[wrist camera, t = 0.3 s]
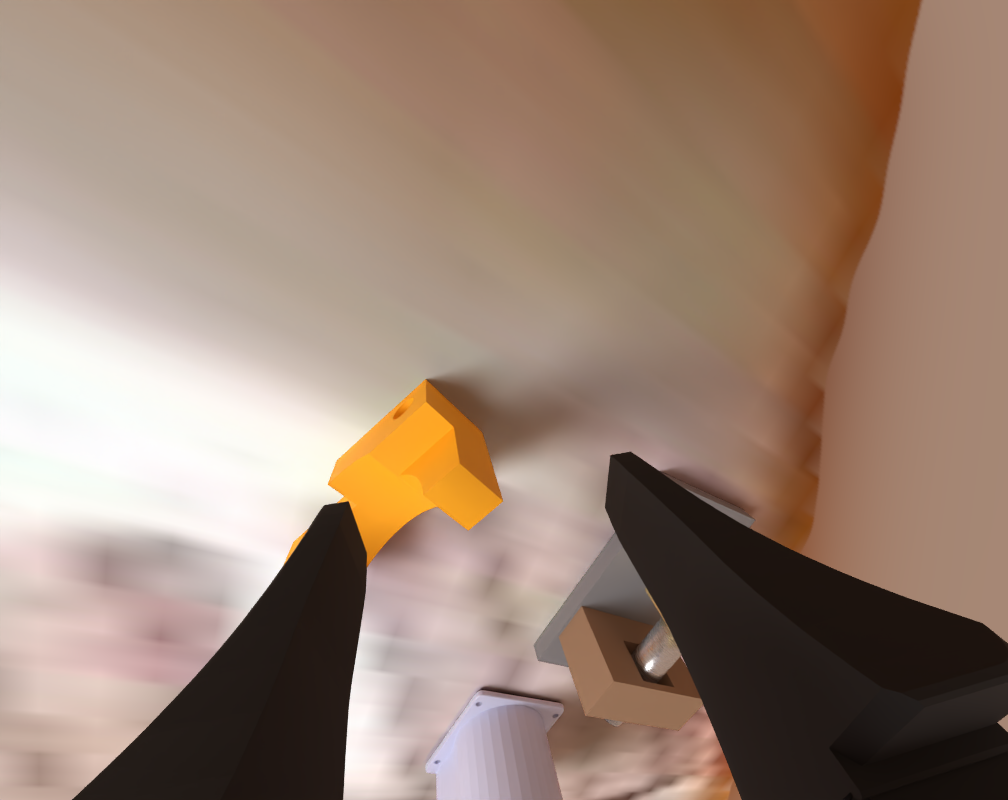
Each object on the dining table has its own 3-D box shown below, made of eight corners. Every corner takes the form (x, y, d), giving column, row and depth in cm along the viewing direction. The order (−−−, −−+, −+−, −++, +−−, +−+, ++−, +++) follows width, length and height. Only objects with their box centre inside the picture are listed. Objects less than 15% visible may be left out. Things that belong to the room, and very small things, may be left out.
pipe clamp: (425, 377, 20) (426, 434, 14) (481, 430, 22) (503, 501, 16) (266, 523, 22) (209, 629, 16) (331, 562, 23) (301, 671, 18)
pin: (612, 679, 29) (642, 750, 25) (579, 672, 28) (605, 745, 24) (704, 566, 26) (755, 627, 22) (671, 554, 25) (719, 615, 21)
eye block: (616, 663, 32) (658, 755, 26) (533, 644, 29) (560, 742, 24) (742, 509, 28) (823, 577, 22) (659, 471, 25) (727, 538, 20)
